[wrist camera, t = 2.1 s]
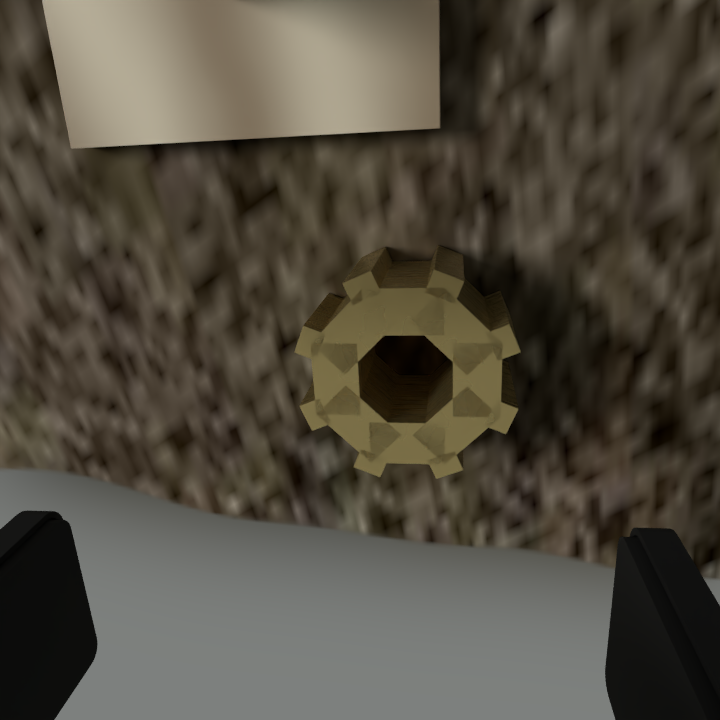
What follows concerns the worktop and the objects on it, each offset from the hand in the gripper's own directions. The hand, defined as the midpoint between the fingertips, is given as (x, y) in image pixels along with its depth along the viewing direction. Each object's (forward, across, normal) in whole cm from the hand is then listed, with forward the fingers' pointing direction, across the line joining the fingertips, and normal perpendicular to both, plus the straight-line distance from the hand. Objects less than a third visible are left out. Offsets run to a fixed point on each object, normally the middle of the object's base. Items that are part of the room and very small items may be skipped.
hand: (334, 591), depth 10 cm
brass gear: (+13, -1, 0) cm, 13 cm away
